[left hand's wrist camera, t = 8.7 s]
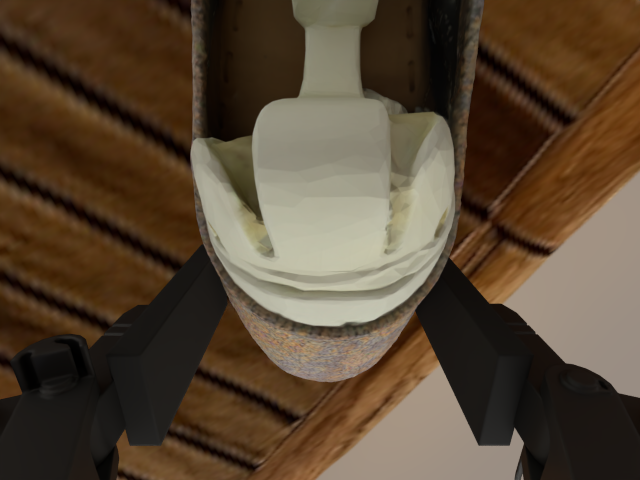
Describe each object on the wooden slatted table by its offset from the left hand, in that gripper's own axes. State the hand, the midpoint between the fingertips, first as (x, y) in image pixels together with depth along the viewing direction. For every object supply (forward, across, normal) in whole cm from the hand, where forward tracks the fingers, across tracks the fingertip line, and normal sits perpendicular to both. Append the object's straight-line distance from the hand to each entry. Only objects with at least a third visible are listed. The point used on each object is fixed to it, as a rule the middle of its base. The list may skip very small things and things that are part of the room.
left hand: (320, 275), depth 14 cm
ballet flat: (+1, 0, -8) cm, 8 cm away
